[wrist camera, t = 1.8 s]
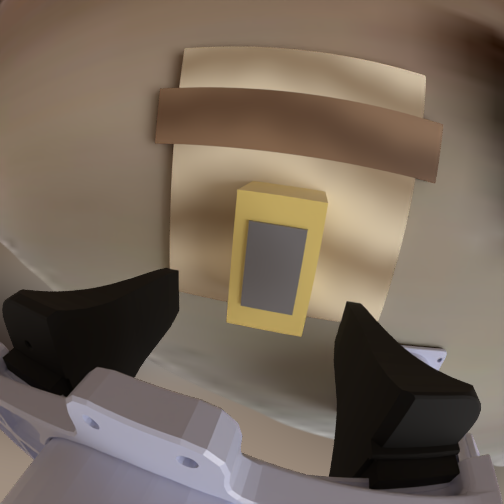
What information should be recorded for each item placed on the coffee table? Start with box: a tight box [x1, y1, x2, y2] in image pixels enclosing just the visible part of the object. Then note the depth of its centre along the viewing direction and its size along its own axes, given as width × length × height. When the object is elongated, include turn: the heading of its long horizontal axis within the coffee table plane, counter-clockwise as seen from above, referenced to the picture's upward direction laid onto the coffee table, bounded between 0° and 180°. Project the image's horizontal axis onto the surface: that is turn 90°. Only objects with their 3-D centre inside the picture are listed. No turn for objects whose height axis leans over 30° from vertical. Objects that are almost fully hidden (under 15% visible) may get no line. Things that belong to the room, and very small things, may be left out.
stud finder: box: [226, 181, 328, 337], centre depth 18 cm, size 8×5×4 cm, turn 174°
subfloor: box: [155, 47, 443, 322], centre depth 19 cm, size 18×19×1 cm
